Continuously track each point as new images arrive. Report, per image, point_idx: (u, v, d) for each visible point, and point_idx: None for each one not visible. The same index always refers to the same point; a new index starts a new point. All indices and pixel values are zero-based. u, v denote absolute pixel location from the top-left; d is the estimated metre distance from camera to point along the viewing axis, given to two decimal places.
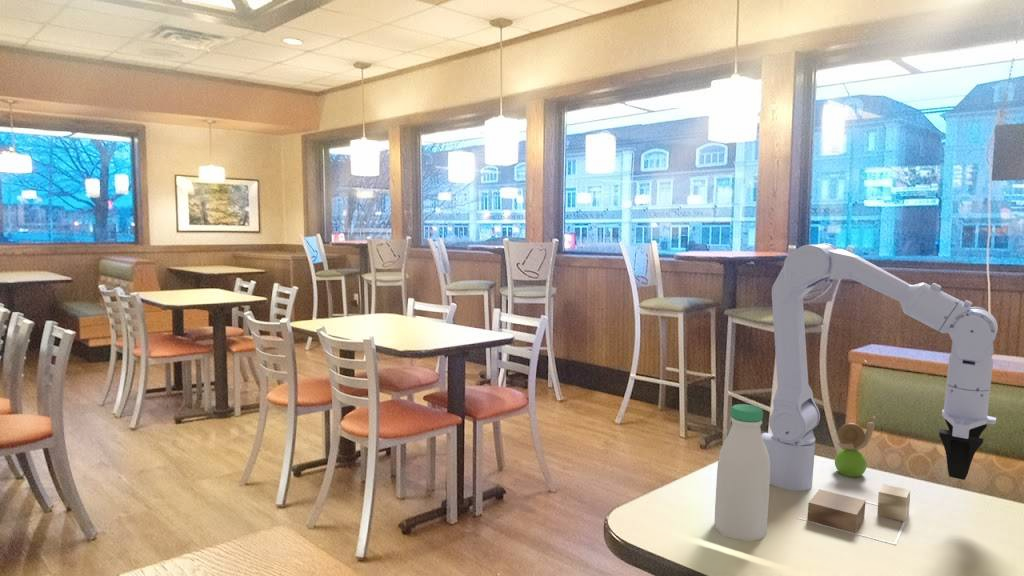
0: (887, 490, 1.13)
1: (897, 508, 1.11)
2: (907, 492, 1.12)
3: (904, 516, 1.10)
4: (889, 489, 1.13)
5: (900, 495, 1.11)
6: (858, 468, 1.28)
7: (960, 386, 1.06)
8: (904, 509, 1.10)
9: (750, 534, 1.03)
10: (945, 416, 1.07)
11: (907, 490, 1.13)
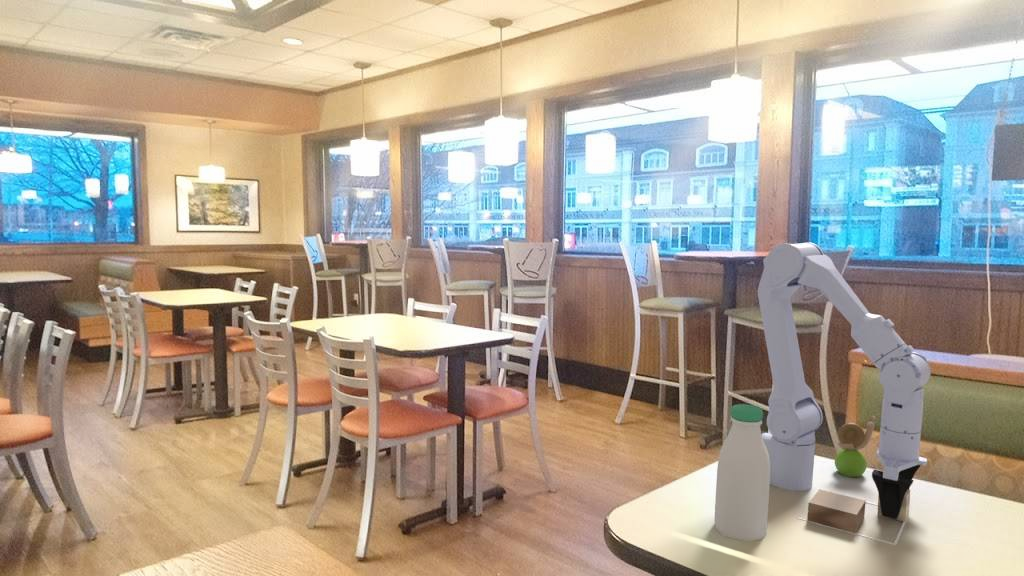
0: None
1: None
2: (907, 492, 1.12)
3: (904, 516, 1.10)
4: None
5: None
6: (858, 468, 1.28)
7: (889, 428, 1.10)
8: (904, 509, 1.10)
9: (750, 534, 1.03)
10: (879, 457, 1.12)
11: (907, 490, 1.13)
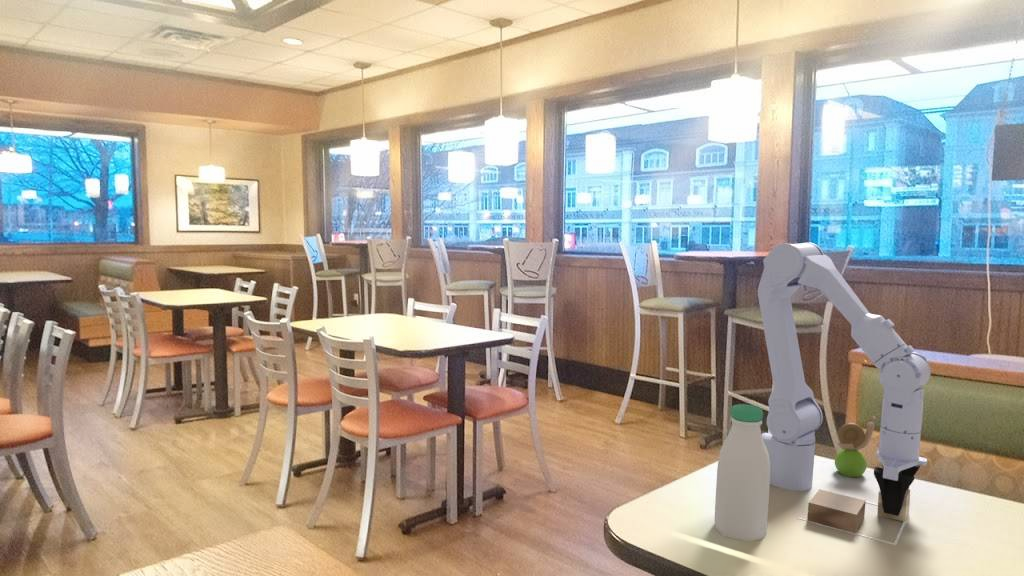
0: None
1: None
2: (907, 492, 1.12)
3: (904, 516, 1.10)
4: None
5: None
6: (858, 468, 1.28)
7: (889, 428, 1.10)
8: (904, 509, 1.10)
9: (750, 534, 1.03)
10: (879, 457, 1.12)
11: (907, 490, 1.13)
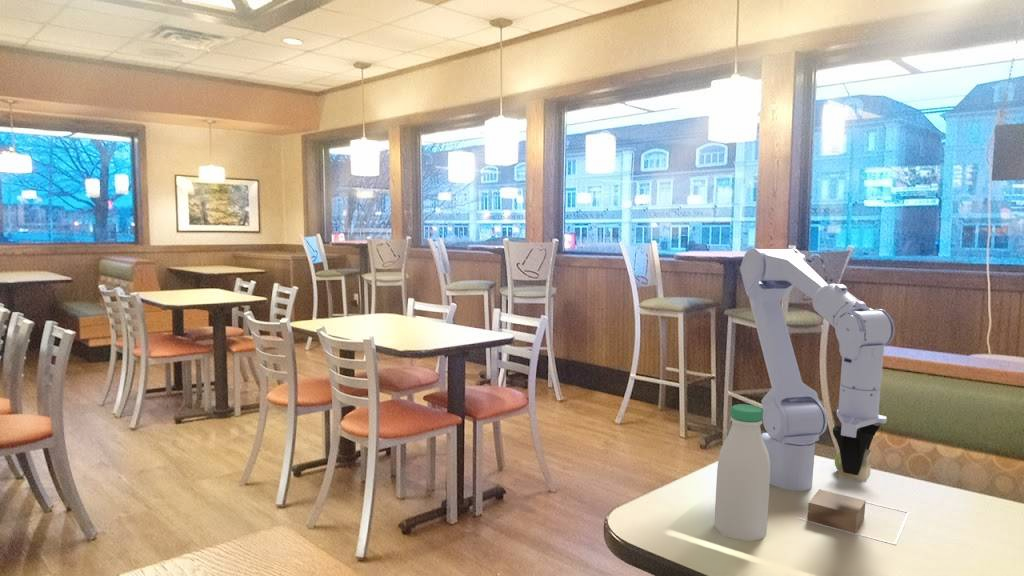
0: None
1: None
2: (868, 452, 1.09)
3: (864, 476, 1.08)
4: None
5: None
6: None
7: (842, 383, 1.09)
8: (864, 469, 1.08)
9: (750, 534, 1.03)
10: (838, 415, 1.09)
11: (868, 450, 1.10)
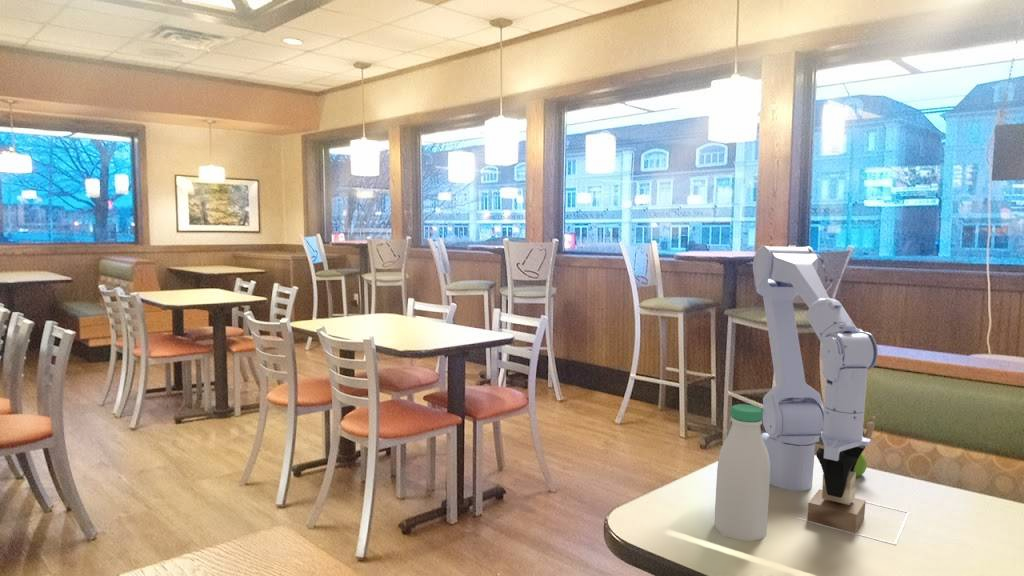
0: None
1: None
2: (852, 475, 1.09)
3: (848, 499, 1.08)
4: None
5: None
6: (858, 468, 1.28)
7: (825, 404, 1.09)
8: (848, 492, 1.08)
9: (750, 534, 1.03)
10: (822, 438, 1.09)
11: (852, 472, 1.10)
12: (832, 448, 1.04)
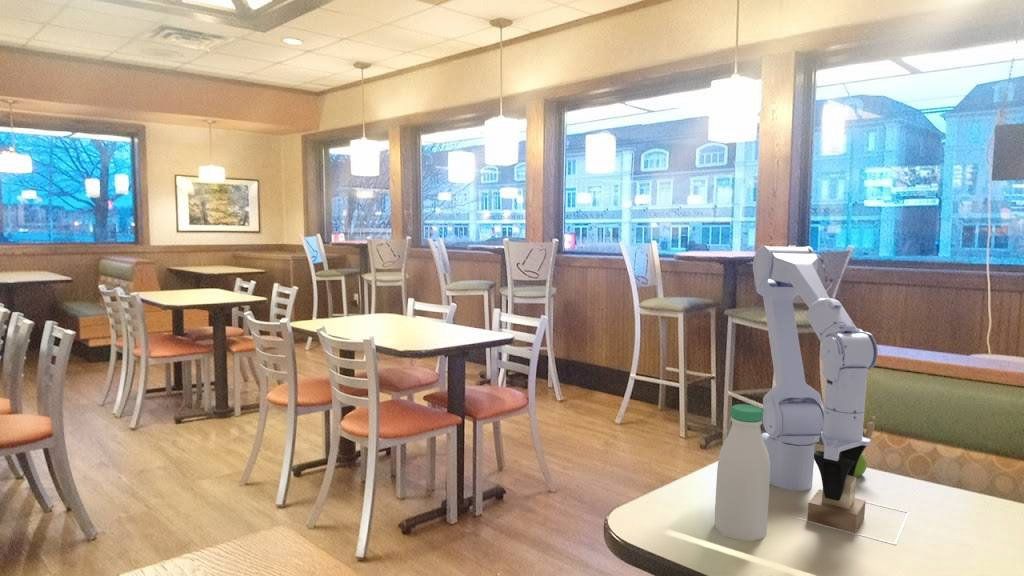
0: None
1: None
2: (852, 479, 1.09)
3: (848, 503, 1.08)
4: None
5: (845, 482, 1.08)
6: (858, 468, 1.28)
7: (825, 404, 1.09)
8: (848, 496, 1.08)
9: (750, 534, 1.03)
10: (822, 438, 1.09)
11: (853, 477, 1.10)
12: (832, 448, 1.04)
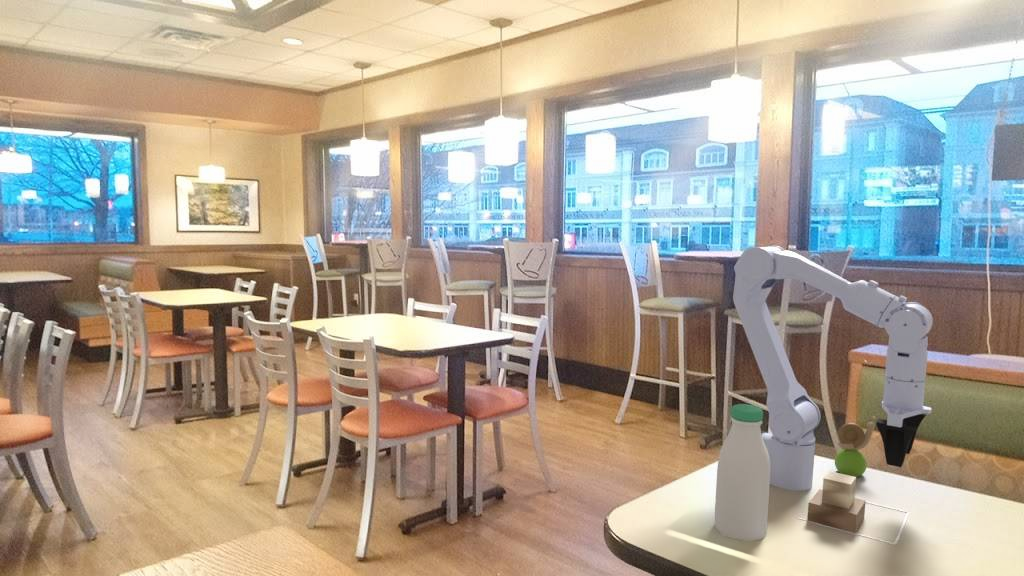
0: (832, 477, 1.10)
1: (841, 495, 1.08)
2: (852, 479, 1.09)
3: (848, 503, 1.08)
4: (835, 476, 1.11)
5: (845, 482, 1.08)
6: (858, 468, 1.28)
7: (896, 377, 1.11)
8: (848, 496, 1.08)
9: (750, 534, 1.03)
10: (883, 406, 1.12)
11: (853, 477, 1.10)
12: (896, 415, 1.07)
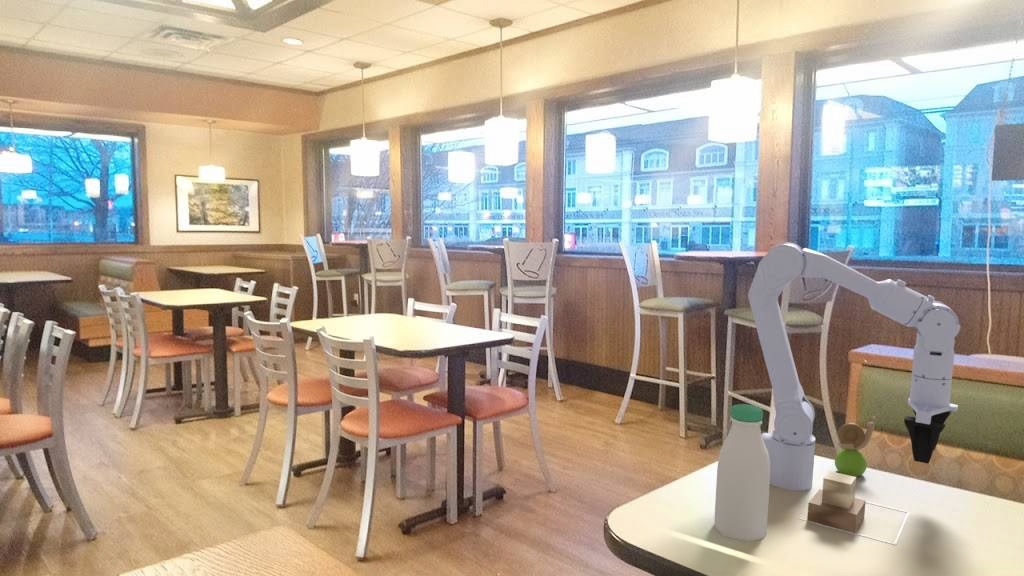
0: (832, 477, 1.10)
1: (841, 495, 1.08)
2: (852, 479, 1.09)
3: (848, 503, 1.08)
4: (835, 476, 1.11)
5: (845, 482, 1.08)
6: (858, 468, 1.28)
7: (928, 376, 1.12)
8: (848, 496, 1.08)
9: (750, 534, 1.03)
10: (910, 404, 1.14)
11: (853, 477, 1.10)
12: (924, 412, 1.09)
